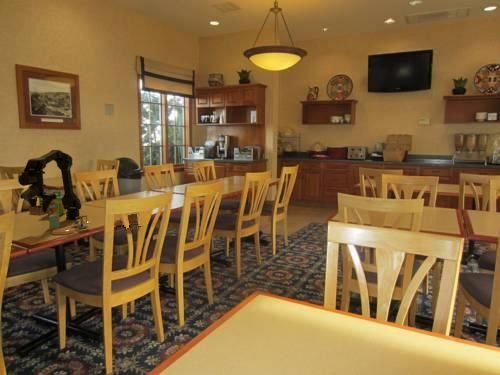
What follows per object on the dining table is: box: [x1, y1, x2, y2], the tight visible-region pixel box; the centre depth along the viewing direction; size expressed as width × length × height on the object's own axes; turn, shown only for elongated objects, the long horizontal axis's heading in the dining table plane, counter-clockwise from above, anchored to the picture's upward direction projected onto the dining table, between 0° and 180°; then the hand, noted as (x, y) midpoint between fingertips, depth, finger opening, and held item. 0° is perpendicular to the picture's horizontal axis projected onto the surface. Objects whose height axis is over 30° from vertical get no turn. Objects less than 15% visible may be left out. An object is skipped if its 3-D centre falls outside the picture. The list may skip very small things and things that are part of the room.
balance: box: [71, 215, 92, 230], centre depth 209 cm, size 15×5×8 cm, turn 55°
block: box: [48, 215, 61, 230], centre depth 209 cm, size 4×4×7 cm
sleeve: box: [28, 204, 50, 217], centre depth 198 cm, size 7×7×4 cm
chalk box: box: [47, 190, 67, 217], centre depth 241 cm, size 9×9×15 cm
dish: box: [51, 227, 76, 236], centre depth 200 cm, size 11×11×1 cm
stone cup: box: [114, 214, 139, 227], centre depth 215 cm, size 15×12×15 cm
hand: (39, 212), depth 199 cm, fingers closed on sleeve, 7 cm apart
